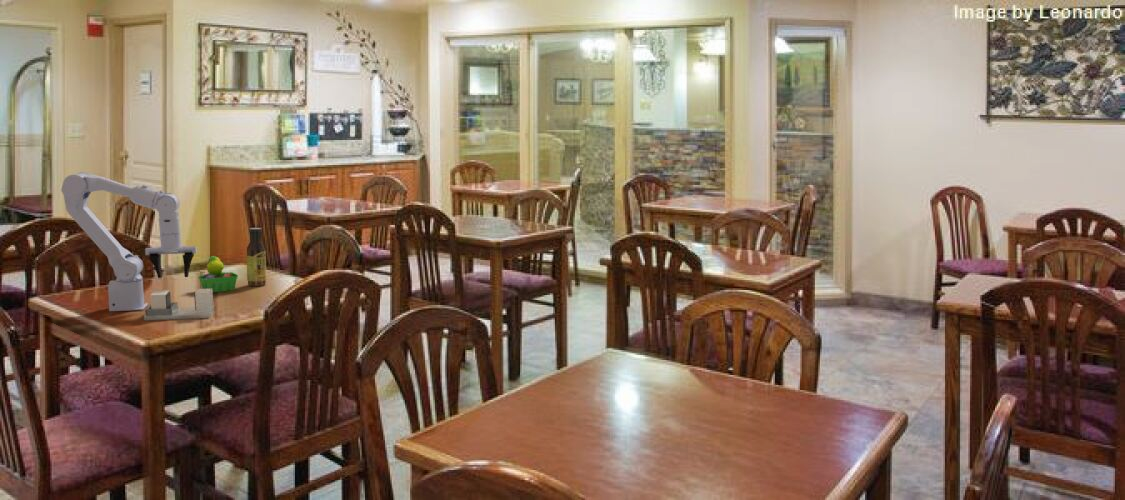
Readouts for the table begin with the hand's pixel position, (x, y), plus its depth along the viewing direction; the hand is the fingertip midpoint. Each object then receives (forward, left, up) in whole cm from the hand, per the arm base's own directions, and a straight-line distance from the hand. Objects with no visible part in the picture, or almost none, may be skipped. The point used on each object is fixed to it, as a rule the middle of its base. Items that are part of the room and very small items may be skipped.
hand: (173, 277), depth 280 cm
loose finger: (-2, -12, -8) cm, 15 cm away
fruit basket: (+9, +24, -10) cm, 28 cm away
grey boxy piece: (+3, -12, -9) cm, 16 cm away
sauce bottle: (+21, +30, -10) cm, 38 cm away
